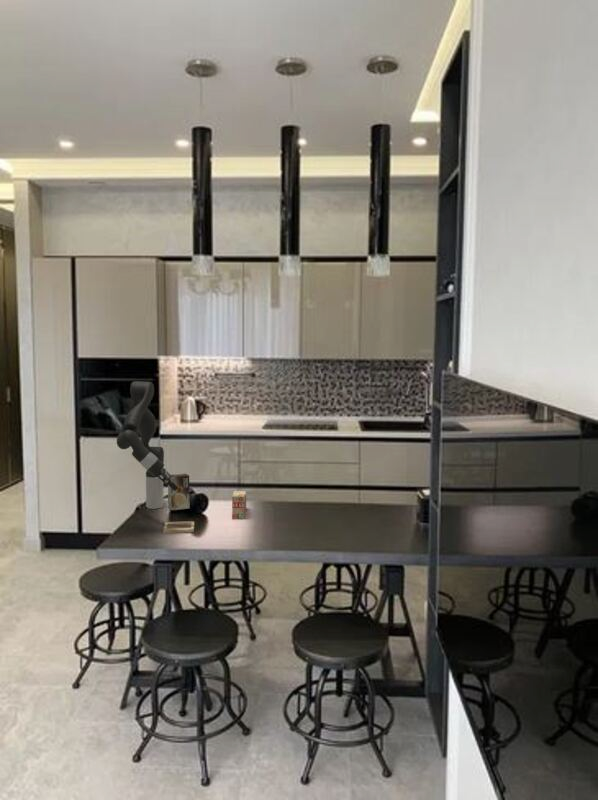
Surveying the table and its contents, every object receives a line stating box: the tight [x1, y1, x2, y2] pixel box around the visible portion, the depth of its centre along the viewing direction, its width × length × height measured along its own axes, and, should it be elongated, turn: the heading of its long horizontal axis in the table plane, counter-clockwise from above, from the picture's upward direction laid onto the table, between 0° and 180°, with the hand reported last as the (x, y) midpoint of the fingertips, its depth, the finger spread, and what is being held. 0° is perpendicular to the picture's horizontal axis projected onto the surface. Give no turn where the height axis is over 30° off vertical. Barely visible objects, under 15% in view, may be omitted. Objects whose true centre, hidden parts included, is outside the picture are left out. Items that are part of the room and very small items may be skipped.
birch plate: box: [162, 520, 195, 534], centre depth 295 cm, size 14×14×2 cm
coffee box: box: [167, 473, 191, 511], centre depth 294 cm, size 9×6×16 cm
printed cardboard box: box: [231, 490, 247, 520], centre depth 324 cm, size 21×6×12 cm, turn 2°
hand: (176, 487), depth 294 cm, fingers closed on coffee box, 7 cm apart
